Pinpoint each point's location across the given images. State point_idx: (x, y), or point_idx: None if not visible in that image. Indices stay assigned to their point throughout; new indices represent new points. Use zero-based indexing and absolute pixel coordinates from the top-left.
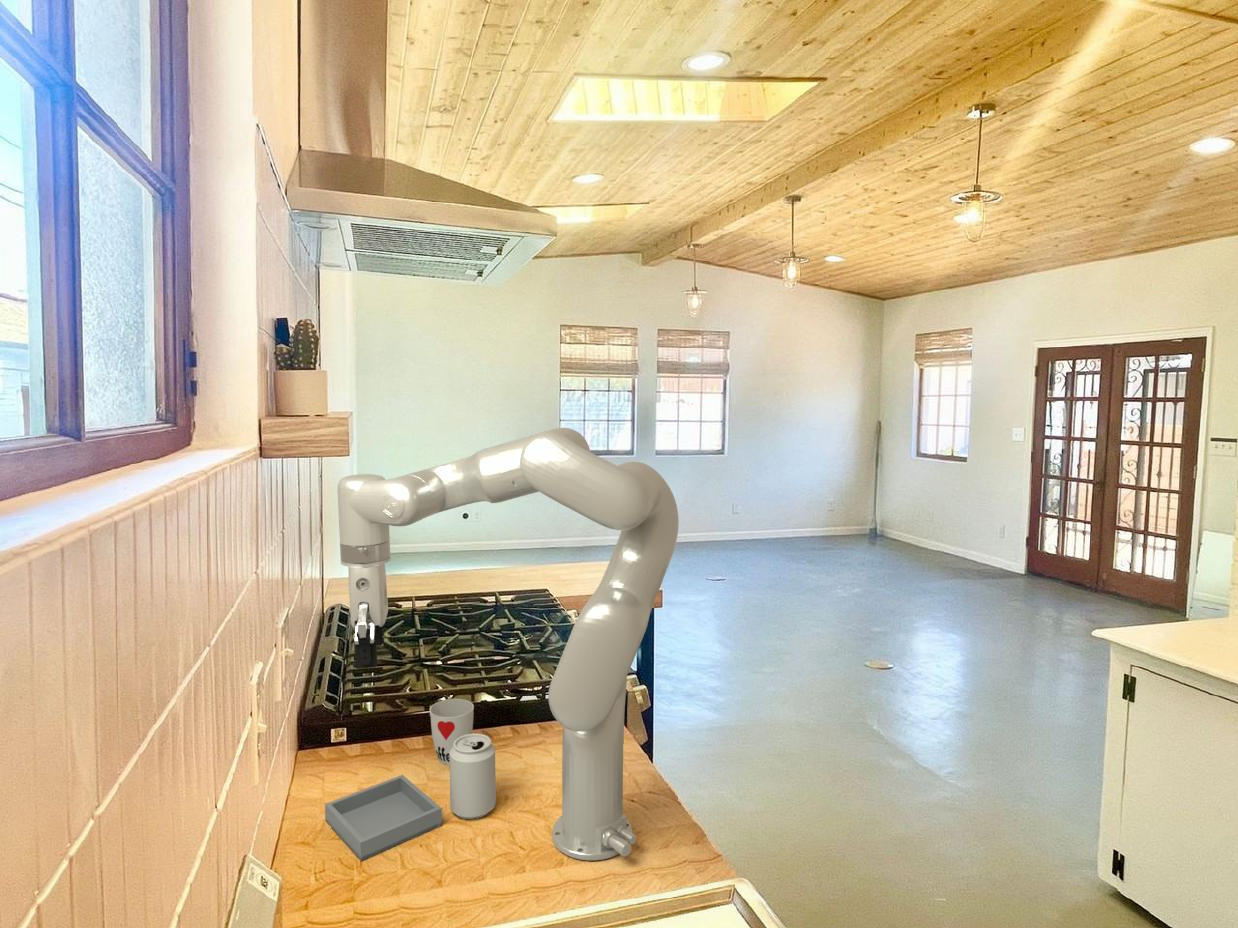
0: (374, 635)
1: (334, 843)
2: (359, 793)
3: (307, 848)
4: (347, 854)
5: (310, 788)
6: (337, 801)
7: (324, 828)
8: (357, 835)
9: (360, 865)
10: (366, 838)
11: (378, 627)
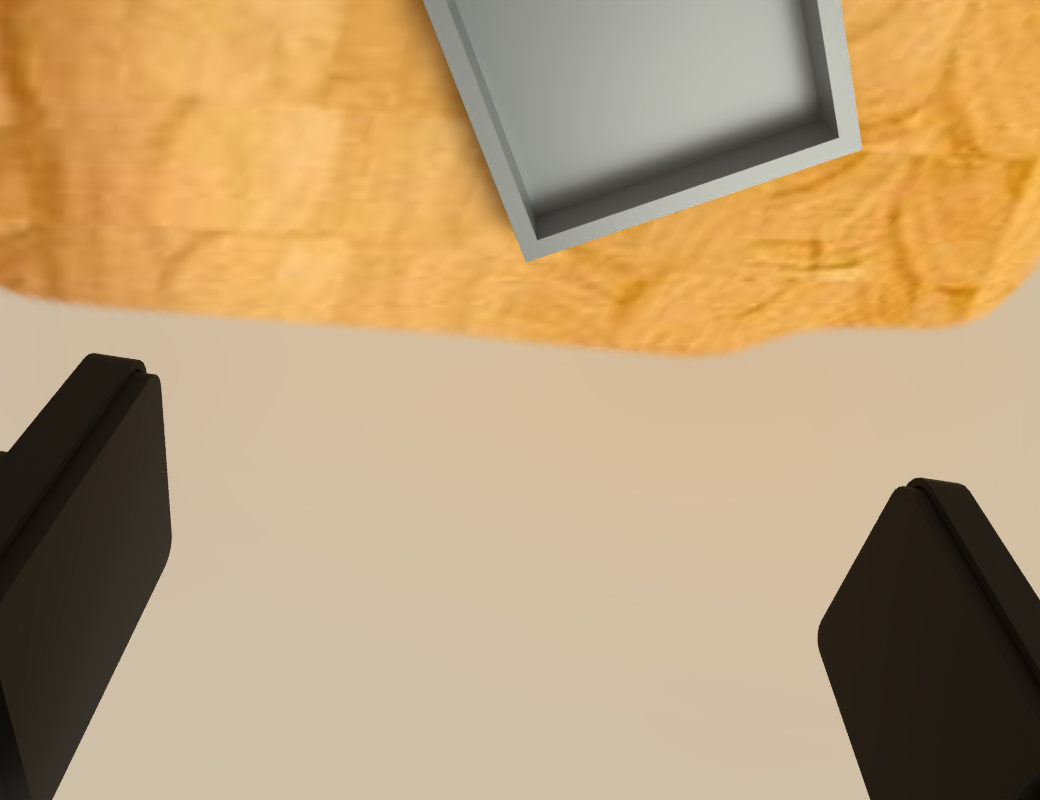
0: (109, 542)
1: None
2: (494, 129)
3: (666, 289)
4: None
5: (275, 278)
6: (525, 217)
7: None
8: (808, 157)
9: None
10: (848, 125)
11: (38, 593)
